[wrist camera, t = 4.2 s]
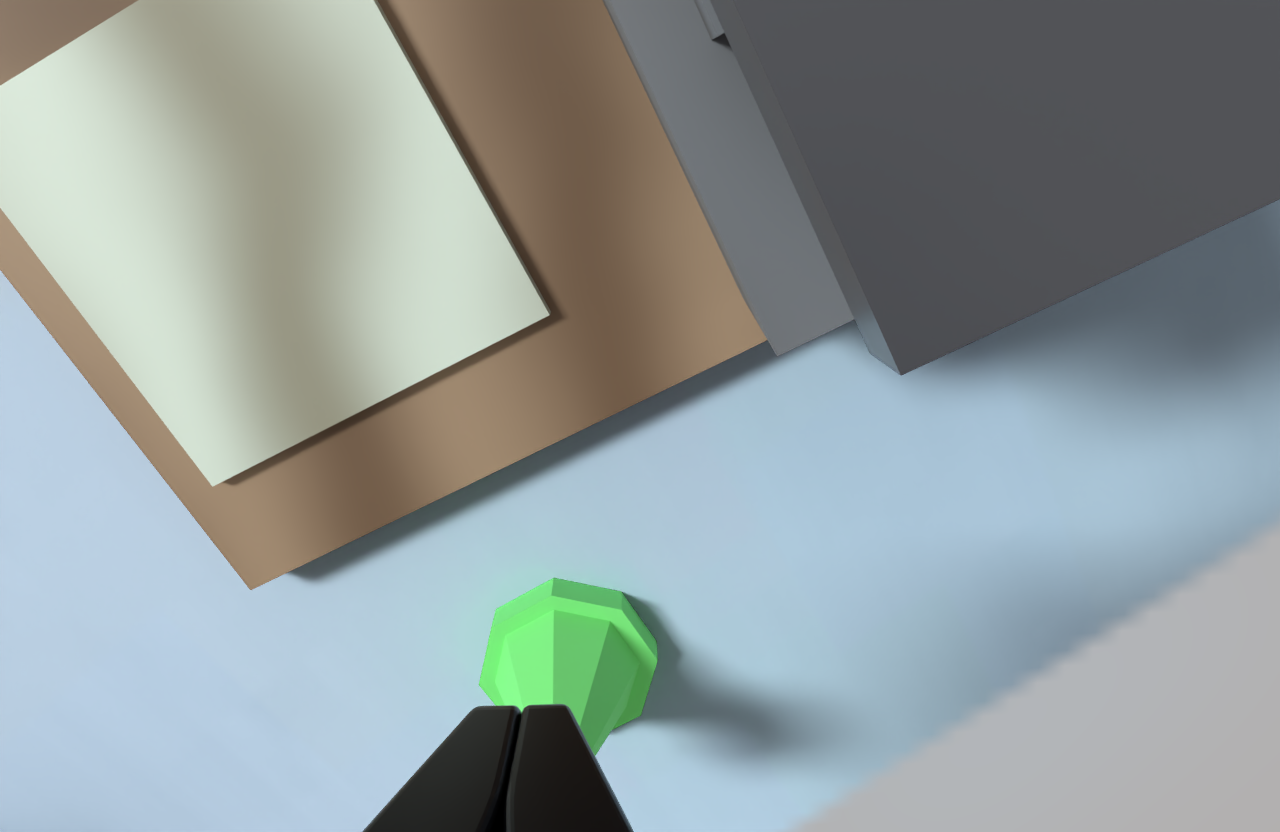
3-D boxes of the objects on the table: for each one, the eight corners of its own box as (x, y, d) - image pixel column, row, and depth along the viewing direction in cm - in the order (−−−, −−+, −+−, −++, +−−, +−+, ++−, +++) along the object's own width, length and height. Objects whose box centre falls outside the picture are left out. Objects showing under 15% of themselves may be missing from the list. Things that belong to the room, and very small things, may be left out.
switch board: (267, 566, 20) (135, 743, 15) (-149, 20, 16) (-554, -17, 10) (1147, 138, 17) (1393, 159, 12) (919, -678, 13) (1138, -1247, 7)
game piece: (668, 711, 22) (683, 927, 16) (501, 734, 22) (458, 955, 16) (643, 565, 20) (651, 747, 15) (464, 590, 20) (403, 780, 15)
